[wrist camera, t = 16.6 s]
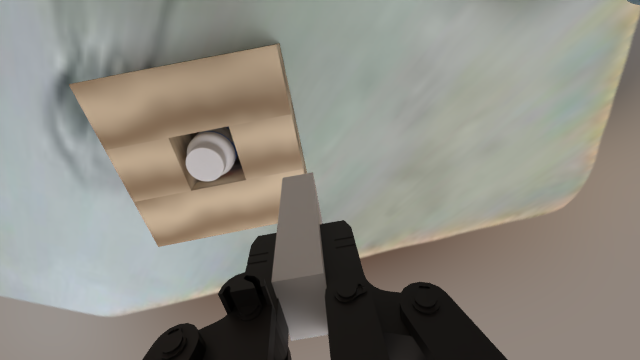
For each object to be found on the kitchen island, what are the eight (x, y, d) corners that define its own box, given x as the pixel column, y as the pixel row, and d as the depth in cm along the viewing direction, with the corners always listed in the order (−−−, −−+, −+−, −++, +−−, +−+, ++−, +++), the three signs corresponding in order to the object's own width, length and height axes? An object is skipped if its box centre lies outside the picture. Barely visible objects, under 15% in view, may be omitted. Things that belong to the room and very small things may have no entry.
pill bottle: (232, 162, 41) (217, 196, 32) (196, 144, 39) (169, 174, 31) (250, 131, 39) (238, 157, 30) (212, 110, 37) (189, 132, 29)
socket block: (123, 73, 36) (68, 84, 27) (279, 43, 36) (276, 44, 27) (184, 205, 45) (158, 246, 36) (308, 181, 45) (313, 216, 36)
